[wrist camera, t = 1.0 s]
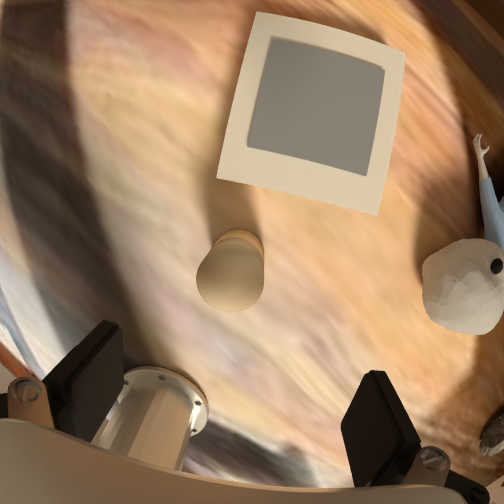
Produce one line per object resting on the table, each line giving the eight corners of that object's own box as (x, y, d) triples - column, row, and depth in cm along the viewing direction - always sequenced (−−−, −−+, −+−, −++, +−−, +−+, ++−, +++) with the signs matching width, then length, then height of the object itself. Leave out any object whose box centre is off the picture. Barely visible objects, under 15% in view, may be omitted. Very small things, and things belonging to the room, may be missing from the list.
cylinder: (258, 283, 31) (255, 318, 23) (209, 272, 31) (191, 304, 23) (269, 235, 30) (270, 257, 22) (218, 224, 30) (202, 242, 22)
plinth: (363, 210, 29) (379, 217, 24) (222, 177, 28) (214, 178, 24) (390, 65, 25) (407, 51, 20) (257, 29, 24) (256, 8, 20)
